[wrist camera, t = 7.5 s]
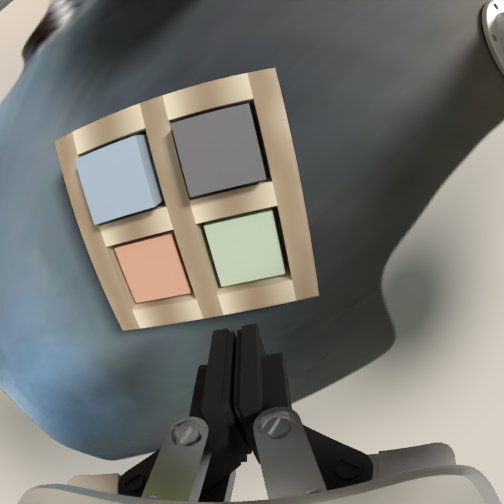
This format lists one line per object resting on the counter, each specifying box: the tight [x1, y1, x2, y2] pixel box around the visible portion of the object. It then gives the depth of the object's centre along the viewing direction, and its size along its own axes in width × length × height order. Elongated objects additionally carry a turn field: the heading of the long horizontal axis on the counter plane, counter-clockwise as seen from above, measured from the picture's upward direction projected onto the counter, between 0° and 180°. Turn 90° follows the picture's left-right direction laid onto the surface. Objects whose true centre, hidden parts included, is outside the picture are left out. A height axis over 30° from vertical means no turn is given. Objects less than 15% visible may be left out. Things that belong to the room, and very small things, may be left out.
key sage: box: [204, 207, 285, 287], centre depth 24 cm, size 5×5×3 cm
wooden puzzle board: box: [55, 68, 319, 331], centre depth 23 cm, size 17×17×5 cm
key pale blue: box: [75, 135, 164, 225], centre depth 20 cm, size 5×5×3 cm
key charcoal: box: [171, 103, 266, 197], centre depth 19 cm, size 5×5×3 cm
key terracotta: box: [114, 230, 193, 303], centre depth 24 cm, size 5×5×3 cm
